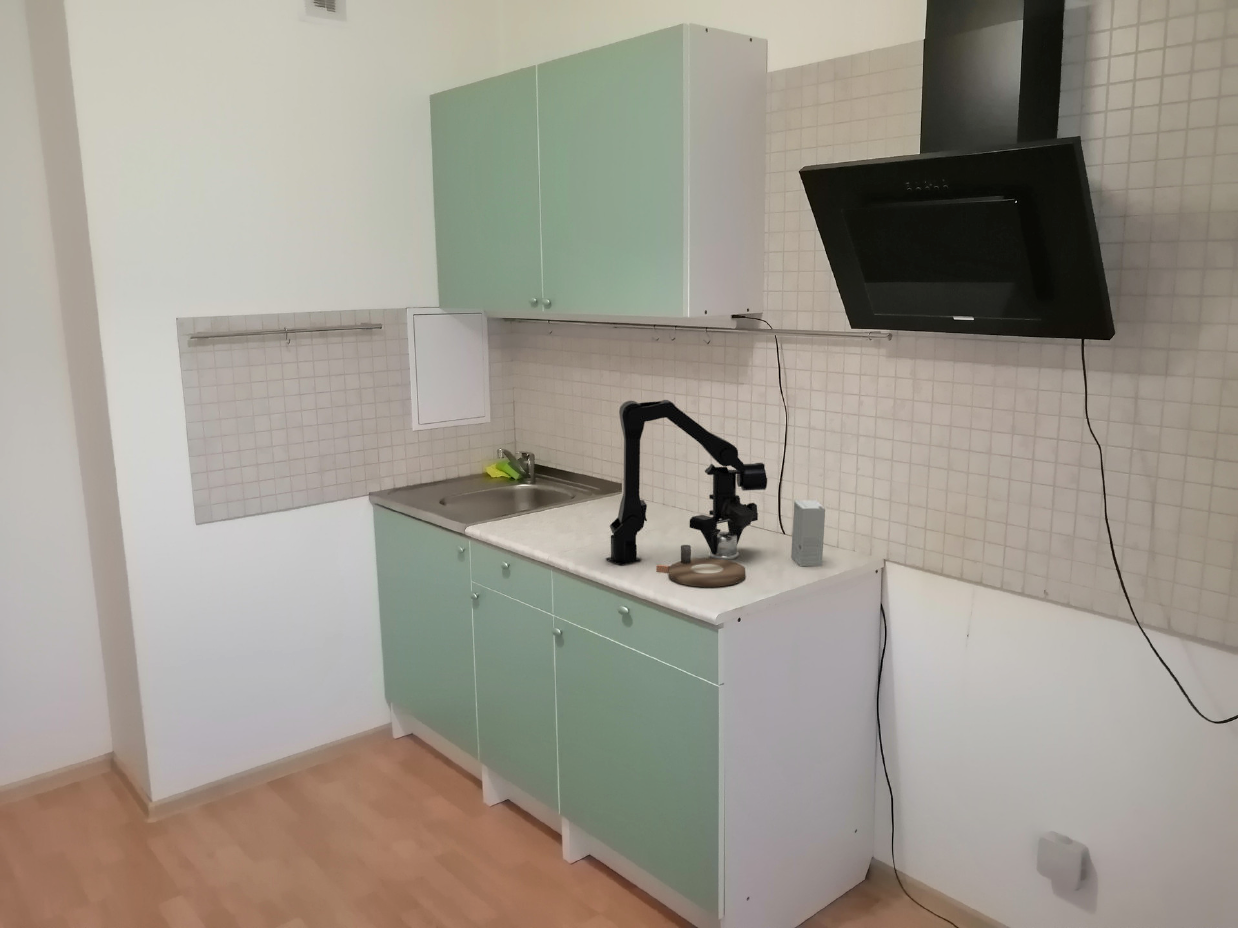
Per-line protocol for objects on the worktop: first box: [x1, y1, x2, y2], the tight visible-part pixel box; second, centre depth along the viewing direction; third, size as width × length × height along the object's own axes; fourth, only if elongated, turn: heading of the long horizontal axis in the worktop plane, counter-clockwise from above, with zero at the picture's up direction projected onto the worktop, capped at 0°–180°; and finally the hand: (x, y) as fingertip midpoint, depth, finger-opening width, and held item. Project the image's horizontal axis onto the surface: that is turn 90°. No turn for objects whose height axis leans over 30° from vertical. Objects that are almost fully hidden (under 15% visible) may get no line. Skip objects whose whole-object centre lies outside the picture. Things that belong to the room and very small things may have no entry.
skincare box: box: [790, 499, 826, 567], centre depth 239 cm, size 8×6×15 cm
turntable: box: [668, 544, 746, 588], centre depth 229 cm, size 18×18×6 cm
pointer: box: [655, 564, 671, 574], centre depth 234 cm, size 3×1×2 cm, turn 67°
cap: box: [709, 531, 739, 561], centre depth 246 cm, size 7×7×6 cm
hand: (723, 551), depth 246 cm, fingers closed on cap, 6 cm apart
